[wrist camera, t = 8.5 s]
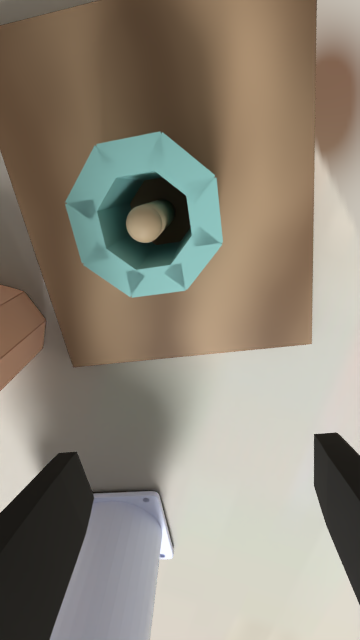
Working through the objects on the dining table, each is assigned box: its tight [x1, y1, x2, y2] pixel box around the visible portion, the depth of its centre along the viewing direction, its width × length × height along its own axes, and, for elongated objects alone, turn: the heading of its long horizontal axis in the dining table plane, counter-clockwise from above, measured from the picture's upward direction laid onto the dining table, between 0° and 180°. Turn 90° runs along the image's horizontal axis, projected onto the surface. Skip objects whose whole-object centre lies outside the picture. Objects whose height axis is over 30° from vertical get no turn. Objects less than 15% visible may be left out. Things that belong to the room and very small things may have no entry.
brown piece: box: [0, 0, 317, 367], centre depth 13 cm, size 14×16×7 cm
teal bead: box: [65, 132, 223, 298], centre depth 12 cm, size 5×5×5 cm
